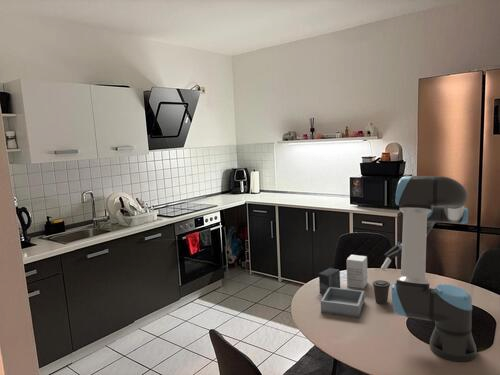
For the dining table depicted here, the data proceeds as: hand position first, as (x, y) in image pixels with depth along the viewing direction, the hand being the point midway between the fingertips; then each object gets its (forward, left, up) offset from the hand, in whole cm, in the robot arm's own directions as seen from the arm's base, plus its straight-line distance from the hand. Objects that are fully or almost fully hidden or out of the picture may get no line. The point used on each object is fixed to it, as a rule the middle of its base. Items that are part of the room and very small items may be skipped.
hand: (393, 273), depth 184 cm
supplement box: (+11, +19, -12) cm, 25 cm away
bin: (-18, +21, -12) cm, 30 cm away
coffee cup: (-7, +5, -12) cm, 15 cm away
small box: (-1, +31, -12) cm, 33 cm away
